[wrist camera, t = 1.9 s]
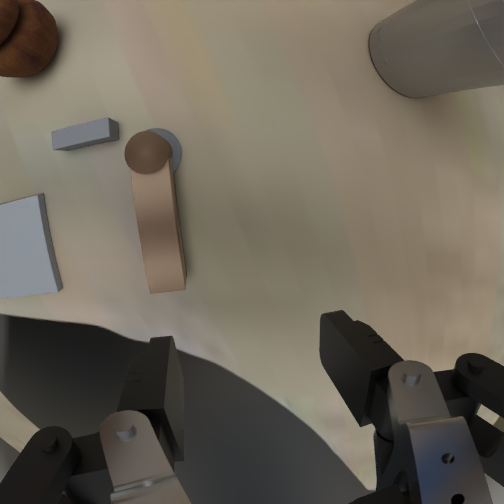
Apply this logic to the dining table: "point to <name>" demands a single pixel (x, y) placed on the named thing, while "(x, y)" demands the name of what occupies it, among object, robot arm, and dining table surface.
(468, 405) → the robot arm
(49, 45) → the wooden figurine
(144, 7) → the dining table surface
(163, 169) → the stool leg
